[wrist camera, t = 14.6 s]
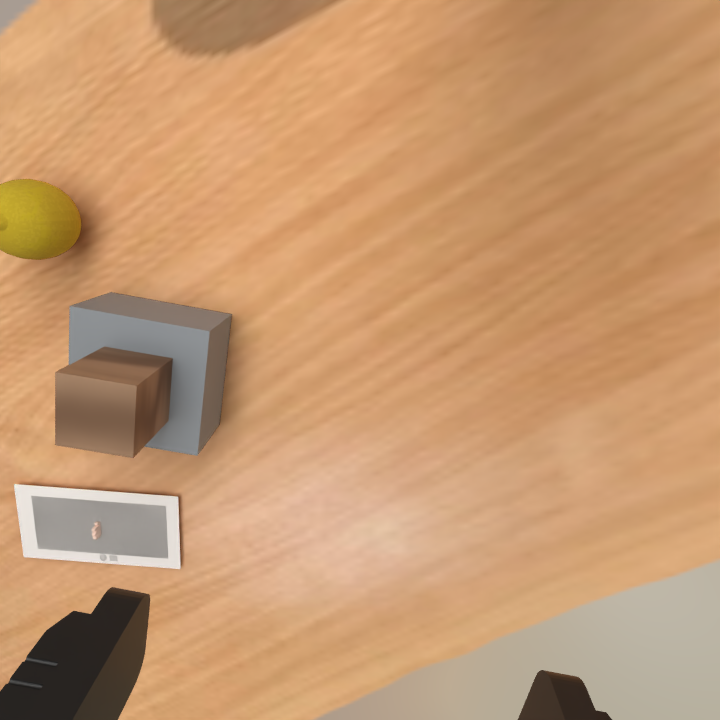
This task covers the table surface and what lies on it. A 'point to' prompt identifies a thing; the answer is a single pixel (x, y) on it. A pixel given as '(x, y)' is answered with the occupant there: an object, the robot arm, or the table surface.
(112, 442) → the walnut block
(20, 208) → the lemon
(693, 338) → the table surface
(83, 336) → the base block
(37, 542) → the touchpad
